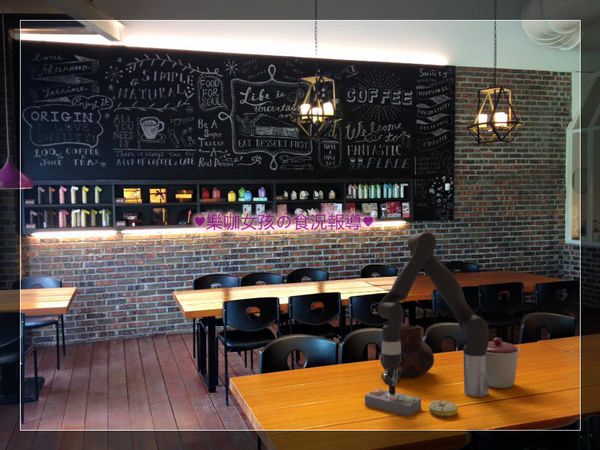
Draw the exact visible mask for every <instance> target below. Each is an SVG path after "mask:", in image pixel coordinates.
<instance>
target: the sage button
mask: <svg viewBox="0 0 600 450" xmlns="http://www.w3.org/2000/svg"><path fill="white" fill-rule="evenodd" d="M410 396H411V395H408V396H405V397H403V402H405V403H410V404H411V403H413V397H414V396H413V397H410Z"/></svg>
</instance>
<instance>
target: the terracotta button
mask: <svg viewBox="0 0 600 450" xmlns="http://www.w3.org/2000/svg"><path fill="white" fill-rule="evenodd" d="M372 391H373V395H377V396H381V395H382V390H381V388H378V389H377V388H374V389H372Z"/></svg>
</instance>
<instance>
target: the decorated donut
mask: <svg viewBox="0 0 600 450" xmlns="http://www.w3.org/2000/svg"><path fill="white" fill-rule="evenodd" d="M428 410H429V411H430V413H431V414H432V415H434V416H436V417H440V418H452V417H454V416H455V415H456V414H457V412H458V405H457V404H455V403H453V402H451V401H447V400H435V401H431V402H429V405H428Z"/></svg>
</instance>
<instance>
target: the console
mask: <svg viewBox="0 0 600 450" xmlns="http://www.w3.org/2000/svg"><path fill="white" fill-rule="evenodd" d="M376 389H379V388H377V387H376ZM380 389H381V388H380ZM381 390H382V395H381V396H377V395H373V390H372V391H370V392H369V393H366V394H365V395H364V405H365V406H366V407H367V406H368V407H371V408H375V409H379V410H383V411H386V412H390V413H394V414H398V415H401V416H404V417H411V416H412V415H414V414H415V413H417V412H418V411H419V410H421V409H422V398H419V397H416V396H411V395H408V394H403V393H401V392H400V393H399V392H396V393H397V394H398V398H397V399H395V400H393V399H389V398H388V395H387V394H388V393H389V390H387V389H384V388H383V389H381ZM405 396H410V397H413V403H411V404H410V403H405V402H403V397H405Z"/></svg>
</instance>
